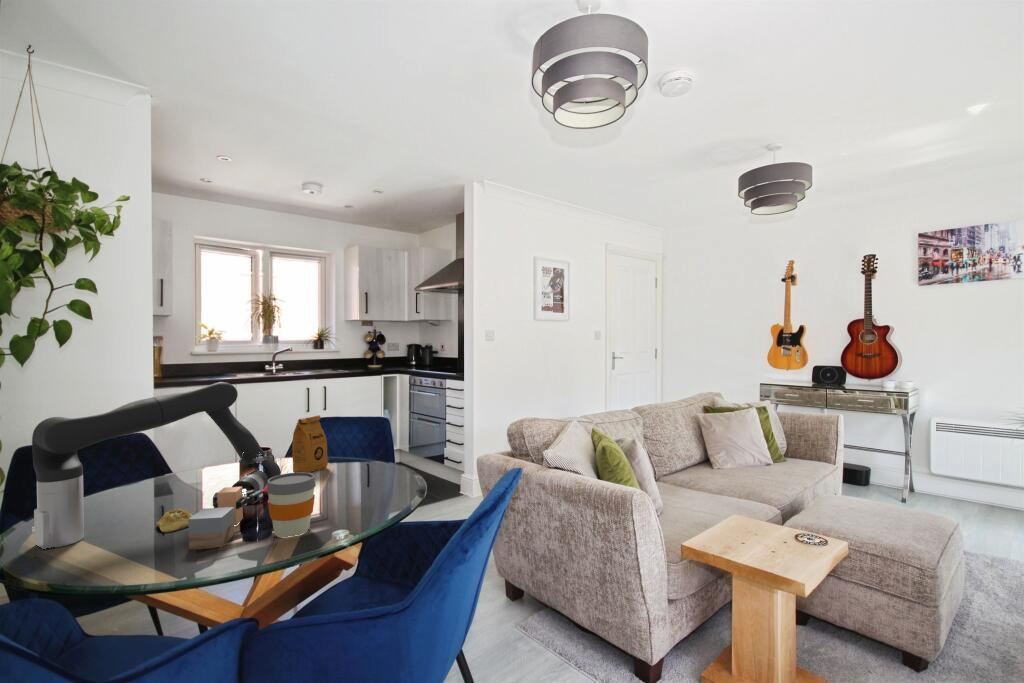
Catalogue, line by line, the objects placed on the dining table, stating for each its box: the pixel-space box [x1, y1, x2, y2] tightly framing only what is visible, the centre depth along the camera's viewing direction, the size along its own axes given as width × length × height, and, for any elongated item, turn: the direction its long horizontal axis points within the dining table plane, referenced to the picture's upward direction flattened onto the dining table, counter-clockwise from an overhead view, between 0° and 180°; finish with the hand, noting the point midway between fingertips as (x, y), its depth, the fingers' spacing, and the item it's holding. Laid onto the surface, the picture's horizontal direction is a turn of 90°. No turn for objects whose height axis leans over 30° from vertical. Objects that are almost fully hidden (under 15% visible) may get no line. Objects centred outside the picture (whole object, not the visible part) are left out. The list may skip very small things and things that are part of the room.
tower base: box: [188, 522, 235, 550], centre depth 134 cm, size 8×8×4 cm
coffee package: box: [291, 414, 328, 473], centre depth 205 cm, size 10×12×22 cm
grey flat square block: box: [188, 507, 234, 536], centre depth 134 cm, size 8×8×4 cm
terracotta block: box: [216, 486, 244, 525], centre depth 147 cm, size 5×5×10 cm
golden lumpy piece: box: [156, 508, 195, 533], centre depth 147 cm, size 11×6×10 cm
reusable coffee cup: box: [266, 472, 316, 537], centre depth 141 cm, size 13×13×15 cm
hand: (227, 506), depth 145 cm, fingers closed on terracotta block, 5 cm apart
